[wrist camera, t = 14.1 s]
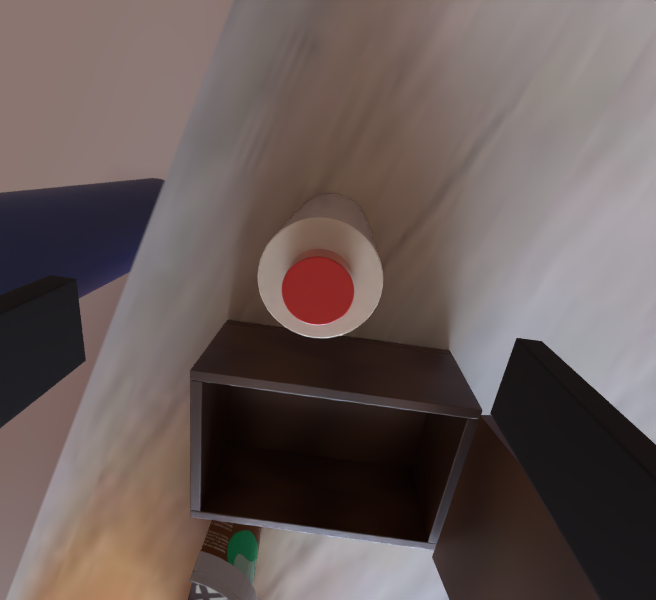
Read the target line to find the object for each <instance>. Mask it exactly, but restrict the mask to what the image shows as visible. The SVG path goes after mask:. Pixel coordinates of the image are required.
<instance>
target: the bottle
mask: <svg viewBox="0 0 656 600" xmlns="http://www.w3.org/2000/svg"><path fill="white" fill-rule="evenodd" d="M258 287H259V291H260V295H261V298H262V300H263V302H264V304H265V306H266V308H267V309H268V311H269V312H270V313H271V315H272V316H273V317H274V318H275V319H276V320H277V321H278V322H279V323H281V324H282V325H283V326H284V327H286V328H288V329H289V330H291V331H293V332H295V333H298V334H301V335H304V336H308V337H313V338H330V337H336V336H340V335H343V334H345V333H348V332H350V331H352V330H354V329H355V328H357V327H358V326H360V325H361V324H362V323H364V322H365V321H366V320H367V319H368V318H369V317H370V315H371V314H372V313H373V311H374V310H375V308H376V306H377V305H378V302H379V300H380V297H381V293H382V289H383V269H382V264H381V261H380V258H379V255H378V252H377V249H376V246H375V243H374V240H373V237H372V234H371V232H370V229H369V226H368V223H367V220H366V217H365V215H364V213H363V212H362V210H361V209H360V208H359V206H358V205H357V204H356V203H355V202H353V201H352V200H350V199H349V198H347V197H344V196H342V195H338V194H322V195H319V196H316V197H314V198H312V199H310V200H308V201H307V202H306V203H305V204H304V205H303V206H302V207H301V208H300V209H299V210H298V211H297V212H296V213H295V214H294V215H293V216H292V217H291V218H290V219H289V220H288V222H287V223H286V224H285V225H284V226H283V227H282V228H281V229H280V230H279V231H278V232H277V233H276V234H275V235H274V236H273V238H272V239H271V240H270V241H269V243H268V244H267V246H266V247H265V249H264V251H263V253H262V255H261V258H260V262H259V265H258Z"/></svg>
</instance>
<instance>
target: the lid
mask: <svg viewBox="0 0 656 600" xmlns="http://www.w3.org/2000/svg"><path fill="white" fill-rule="evenodd" d="M432 558H433V560H434V563H435V565H436V568H437V570H438V573H439V575H440V578H441V580H442V582H443V585H444V587H445V590H446V592H447V595H448V597H449V600H600V599H599V597H598V596H597V594H596V592H595V591H594V589H593V587H592V585H591V584H590V582H589V580H588V579H587V577H586V575H585V574H584V572H583V570H582V568H581V567H580V565H579V563H578V562H577V560H576V558H575V557H574V555H573V553H572V551H571V550H570V548H569V546H568V545H567V543H566V541H565V540H564V538H563V536H562V534H561V533H560V531H559V529H558V528H557V526H556V524H555V523H554V521H553V519H552V517H551V516H550V514H549V512H548V511H547V509H546V507H545V506H544V504H543V502H542V500H541V499H540V497H539V495H538V494H537V492H536V490H535V489H534V487H533V485H532V483H531V482H530V480H529V478H528V477H527V475H526V473H525V472H524V470H523V468H522V466H521V465H520V463H519V461H518V460H517V458H516V456H515V455H514V453H513V451H512V449H511V448H510V446H509V444H508V443H507V441H506V439H505V438H504V436H503V434H502V432H501V431H500V429H499V427H498V426H497V424H496V422H495V421H494V419H493V417H492V416H491V415H480V417H479V420H478V423H477V426H476V429H475V432H474V435H473V438H472V441H471V444H470V447H469V450H468V453H467V455H466V458H465V461H464V464H463V467H462V470H461V473H460V476H459V479H458V482H457V485H456V488H455V491H454V494H453V497H452V500H451V503H450V506H449V509H448V512H447V515H446V518H445V520H444V523H443V526H442V529H441V532H440V535H439V538H438V541H437V544H436V547H435V550H434V553H433V556H432Z"/></svg>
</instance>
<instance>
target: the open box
mask: <svg viewBox="0 0 656 600" xmlns="http://www.w3.org/2000/svg"><path fill="white" fill-rule="evenodd" d="M190 379H191V380H190V509H191V517H194V518H201V519H208V520H216V521H223V522H230V523H238V524H245V525H252V526H260V527H267V528H275V529H282V530H289V531H297V532H304V533H311V534H319V535H326V536H333V537H341V538H348V539H355V540H363V541H370V542H377V543H385V544H392V545H399V546H407V547H414V548H421V549H429V550H435V547H436V544H437V541H438V538H439V535H440V532H441V529H442V526H443V523H444V520H445V518H446V515H447V512H448V509H449V506H450V503H451V500H452V497H453V494H454V491H455V488H456V485H457V482H458V479H459V476H460V473H461V470H462V467H463V464H464V461H465V458H466V455H467V453H468V450H469V447H470V444H471V441H472V438H473V435H474V432H475V429H476V426H477V423H478V420H479V417H480V415H481V413H482V408H481V407H480V405H479V403H478V401H477V399H476V397H475V396H474V394H473V392H472V390H471V388H470V386H469V385H468V383H467V381H466V379H465V377H464V375H463V374H462V372H461V370H460V368H459V366H458V364H457V363H456V361H455V359H454V357H453V355H452V354H451V352H450V351H448V350H440V349H433V348H426V347H419V346H412V345H405V344H397V343H390V342H383V341H376V340H369V339H361V338H354V337H347V336H336V337H330V338H313V337H308V336H304V335H301V334H298V333H295V332H293V331H291V330H289V329H288V328H282V327H275V326H268V325H261V324H253V323H246V322H239V321H232V320H227V321H226V323H225V324H224V325H223V326H222V328H221V329H220V331H219V332H218V333H217V335H216V336H215V337H214V339H213V340H212V341H211V343H210V344H209V345H208V347H207V348H206V350H205V351H204V352H203V354H202V355H201V356H200V358H199V359H198V360H197V362H196V363H195V364H194V366H193V367H192V369H191V370H190Z"/></svg>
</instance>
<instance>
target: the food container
mask: <svg viewBox="0 0 656 600" xmlns="http://www.w3.org/2000/svg"><path fill="white" fill-rule="evenodd" d="M261 528H262V527H260V526H252V525H245V524H238V523H230V522H223V521H216V520H212V522H211V525H210V527H209V530H208V533H207V535H206V538H205V541H204V543H203V546H202V549H201V551H200V552H199V555H198V558H197V560H196V563H195V566H194V569H193V572H192V575H191V578H190V581H191V582H192V586H191V590H190V594H189V598H188V600H257V596H256V593H255V590H254V588H253V581H254V575H255V568H256V561H257V555H258V548H259V542H260V535H261Z"/></svg>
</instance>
